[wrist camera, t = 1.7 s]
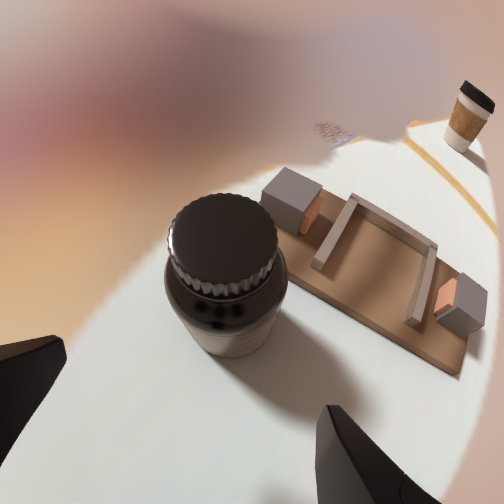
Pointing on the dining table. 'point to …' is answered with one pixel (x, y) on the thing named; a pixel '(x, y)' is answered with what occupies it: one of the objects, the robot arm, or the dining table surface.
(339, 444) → the robot arm
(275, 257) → the supplement bottle
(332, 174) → the dining table surface
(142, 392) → the dining table surface
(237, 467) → the dining table surface
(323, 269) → the walnut rail
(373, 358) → the dining table surface
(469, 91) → the coffee cup
